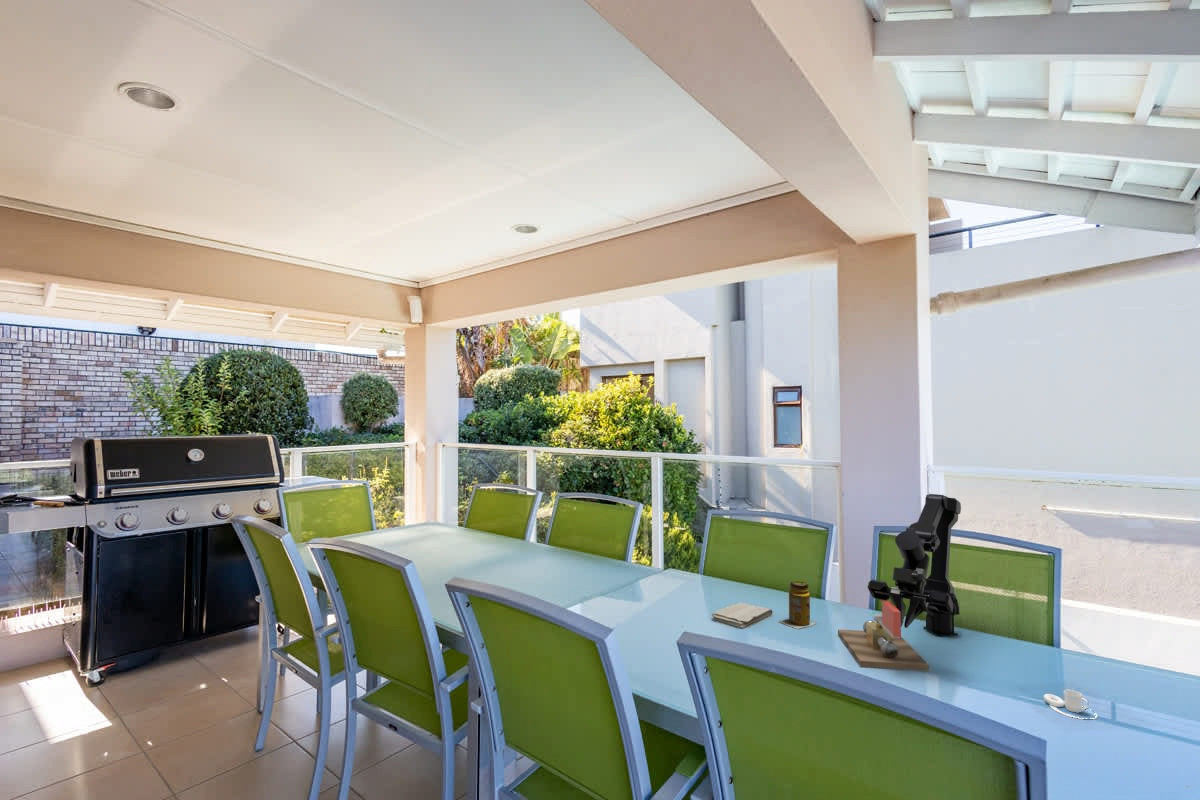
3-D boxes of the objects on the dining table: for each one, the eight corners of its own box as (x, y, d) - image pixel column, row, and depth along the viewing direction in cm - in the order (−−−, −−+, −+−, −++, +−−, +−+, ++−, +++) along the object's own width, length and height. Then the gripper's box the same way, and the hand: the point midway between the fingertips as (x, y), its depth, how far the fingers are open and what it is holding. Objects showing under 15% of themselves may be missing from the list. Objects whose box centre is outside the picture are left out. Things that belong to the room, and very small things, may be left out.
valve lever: (872, 618, 157) (872, 592, 157) (883, 618, 157) (883, 593, 157) (891, 639, 142) (890, 611, 142) (903, 640, 141) (903, 612, 142)
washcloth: (709, 621, 179) (709, 611, 180) (740, 608, 192) (740, 598, 192) (743, 631, 171) (743, 620, 171) (773, 616, 184) (773, 606, 184)
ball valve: (860, 634, 163) (860, 611, 164) (880, 635, 163) (880, 612, 163) (879, 657, 148) (879, 631, 148) (901, 658, 147) (900, 632, 147)
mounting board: (838, 634, 167) (837, 629, 167) (897, 637, 165) (897, 632, 165) (860, 667, 145) (860, 660, 146) (929, 671, 143) (929, 664, 143)
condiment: (816, 624, 176) (815, 584, 176) (798, 629, 171) (797, 588, 172) (796, 617, 182) (795, 578, 183) (778, 622, 178) (777, 582, 178)
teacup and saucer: (1036, 702, 128) (1036, 683, 128) (1070, 700, 129) (1070, 682, 129) (1072, 722, 120) (1071, 702, 120) (1108, 721, 120) (1107, 701, 120)
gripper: (868, 548, 154) (854, 601, 146) (948, 560, 141) (938, 619, 133) (879, 571, 160) (867, 623, 152) (957, 584, 147) (948, 642, 139)
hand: (902, 626), depth 144 cm, fingers closed
